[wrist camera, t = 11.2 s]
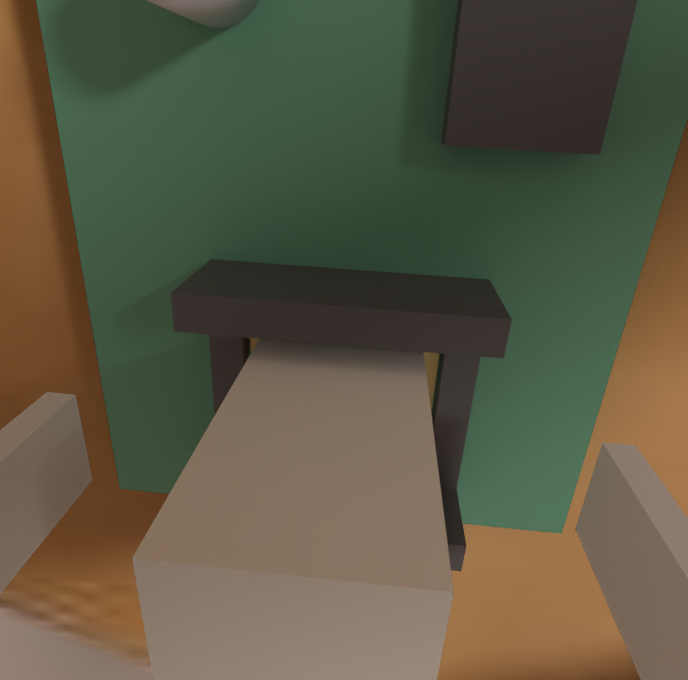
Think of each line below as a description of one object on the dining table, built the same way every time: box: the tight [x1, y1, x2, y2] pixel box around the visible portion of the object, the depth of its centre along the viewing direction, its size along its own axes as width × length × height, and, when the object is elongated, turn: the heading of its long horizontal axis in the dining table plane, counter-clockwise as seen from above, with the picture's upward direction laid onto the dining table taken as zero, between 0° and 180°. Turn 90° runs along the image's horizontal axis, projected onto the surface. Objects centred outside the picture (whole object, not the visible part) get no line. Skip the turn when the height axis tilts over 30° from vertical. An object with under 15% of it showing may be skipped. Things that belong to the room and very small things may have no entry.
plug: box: [132, 339, 454, 680], centre depth 12 cm, size 5×4×9 cm
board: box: [36, 0, 688, 571], centre depth 14 cm, size 20×16×4 cm
